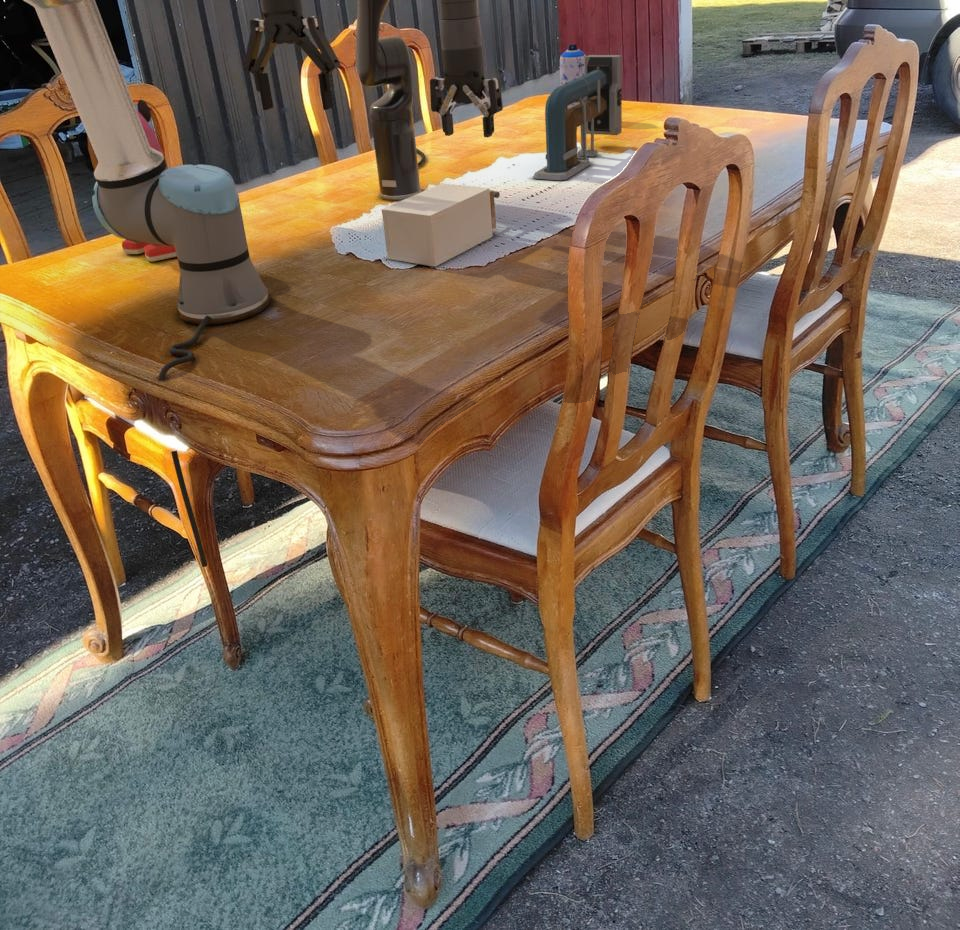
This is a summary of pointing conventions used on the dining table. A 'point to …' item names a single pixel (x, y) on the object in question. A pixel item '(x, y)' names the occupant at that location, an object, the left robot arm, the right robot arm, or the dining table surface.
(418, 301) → the dining table surface
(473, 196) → the beige cardboard box
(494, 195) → the drawer
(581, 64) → the aerosol can
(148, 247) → the toy
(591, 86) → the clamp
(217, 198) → the left robot arm
